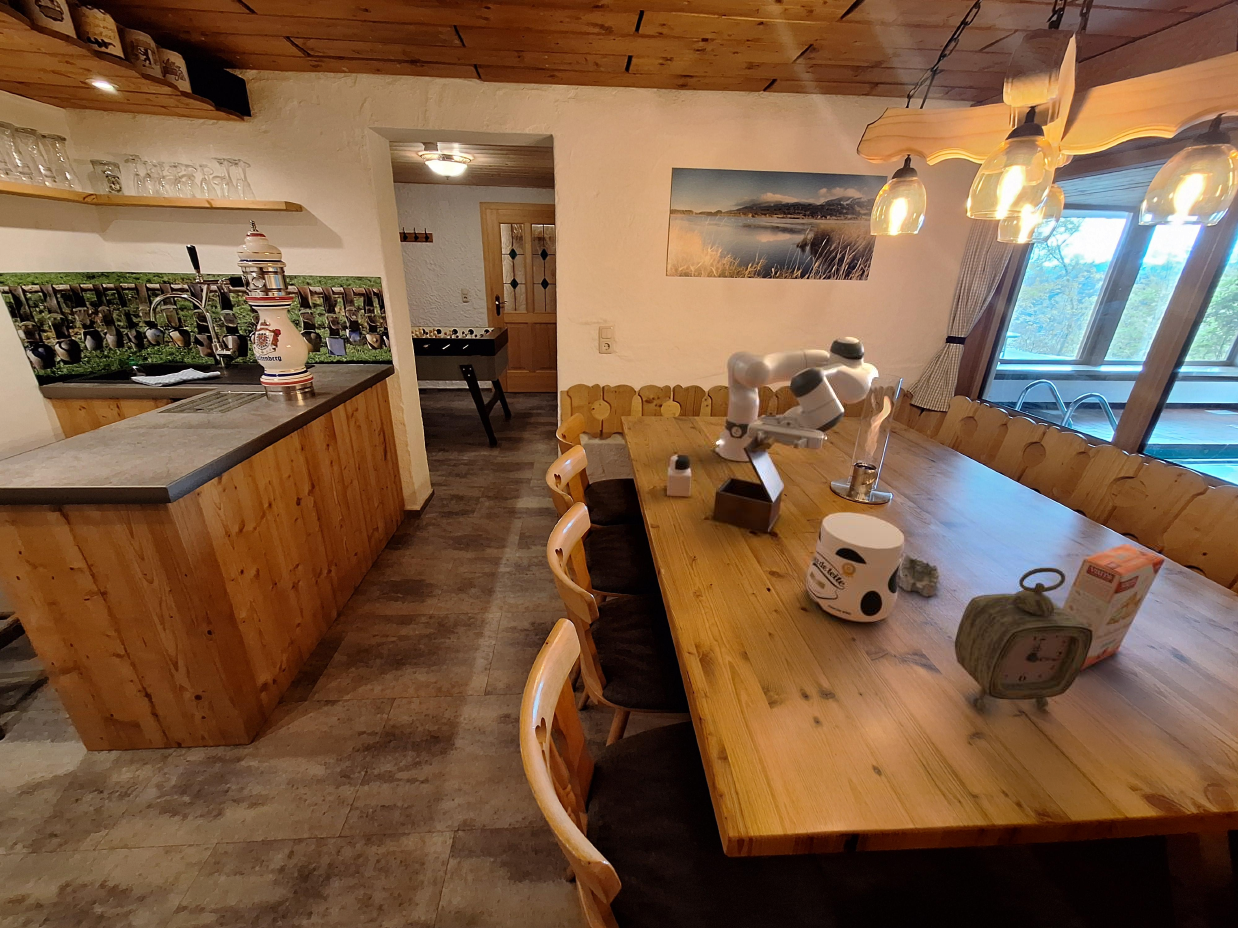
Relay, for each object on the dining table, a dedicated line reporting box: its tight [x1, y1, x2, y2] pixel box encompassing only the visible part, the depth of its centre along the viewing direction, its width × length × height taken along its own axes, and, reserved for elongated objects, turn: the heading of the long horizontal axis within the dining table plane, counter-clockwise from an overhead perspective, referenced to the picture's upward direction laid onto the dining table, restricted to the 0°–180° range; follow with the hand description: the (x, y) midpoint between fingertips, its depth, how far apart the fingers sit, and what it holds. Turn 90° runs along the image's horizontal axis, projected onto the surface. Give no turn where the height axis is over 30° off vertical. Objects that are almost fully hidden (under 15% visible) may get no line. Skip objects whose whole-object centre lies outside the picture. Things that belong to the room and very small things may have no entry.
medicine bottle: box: [666, 454, 692, 498], centre depth 155 cm, size 7×7×12 cm
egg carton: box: [898, 554, 940, 597], centre depth 112 cm, size 11×8×4 cm
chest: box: [712, 476, 784, 534], centre depth 139 cm, size 16×13×9 cm
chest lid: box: [743, 436, 785, 503], centre depth 132 cm, size 16×13×6 cm
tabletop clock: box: [954, 567, 1092, 710], centre depth 78 cm, size 14×9×25 cm, turn 93°
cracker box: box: [1061, 543, 1166, 671], centre depth 88 cm, size 14×6×21 cm, turn 114°
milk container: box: [805, 512, 905, 624], centre depth 101 cm, size 17×17×18 cm
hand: (778, 442), depth 130 cm, fingers open, 8 cm apart
